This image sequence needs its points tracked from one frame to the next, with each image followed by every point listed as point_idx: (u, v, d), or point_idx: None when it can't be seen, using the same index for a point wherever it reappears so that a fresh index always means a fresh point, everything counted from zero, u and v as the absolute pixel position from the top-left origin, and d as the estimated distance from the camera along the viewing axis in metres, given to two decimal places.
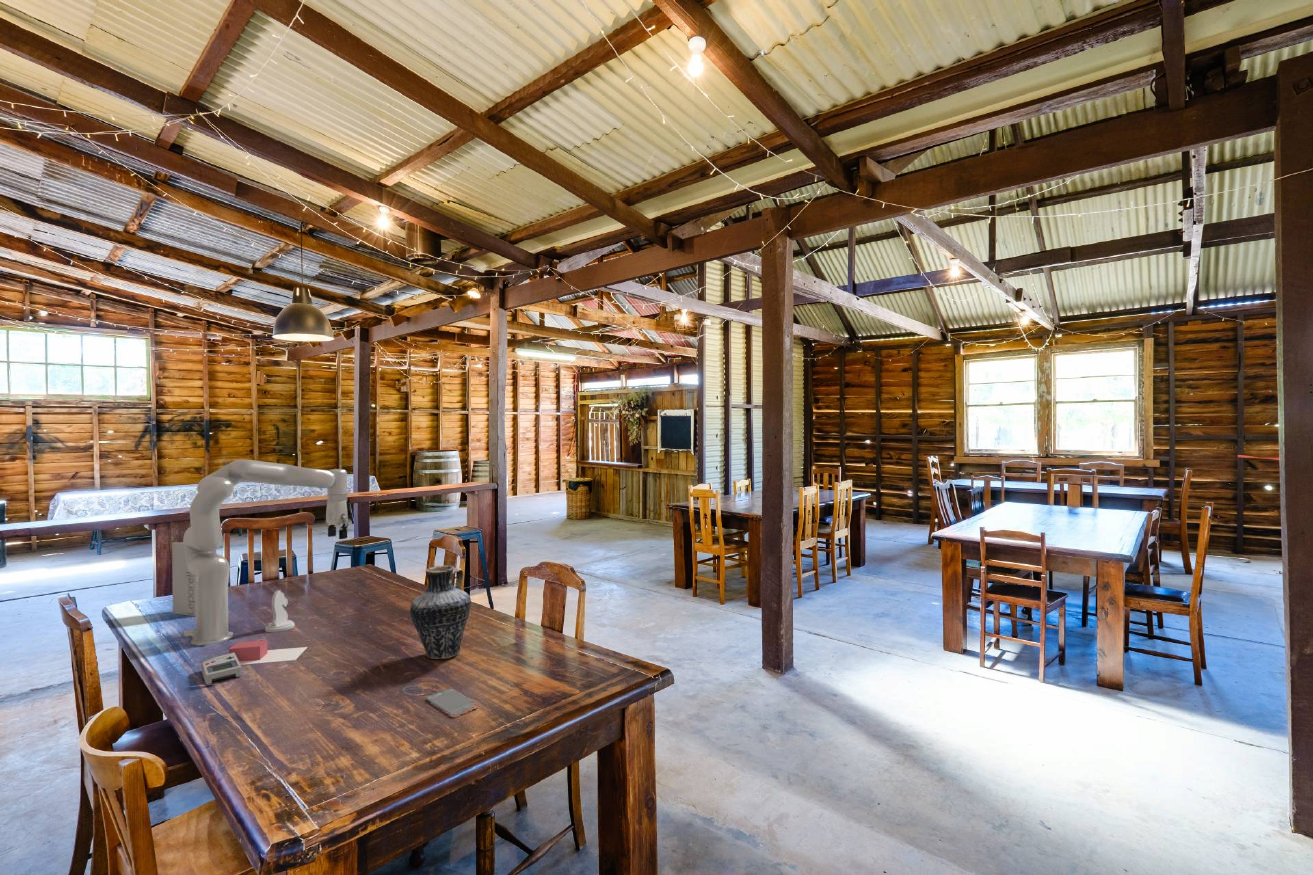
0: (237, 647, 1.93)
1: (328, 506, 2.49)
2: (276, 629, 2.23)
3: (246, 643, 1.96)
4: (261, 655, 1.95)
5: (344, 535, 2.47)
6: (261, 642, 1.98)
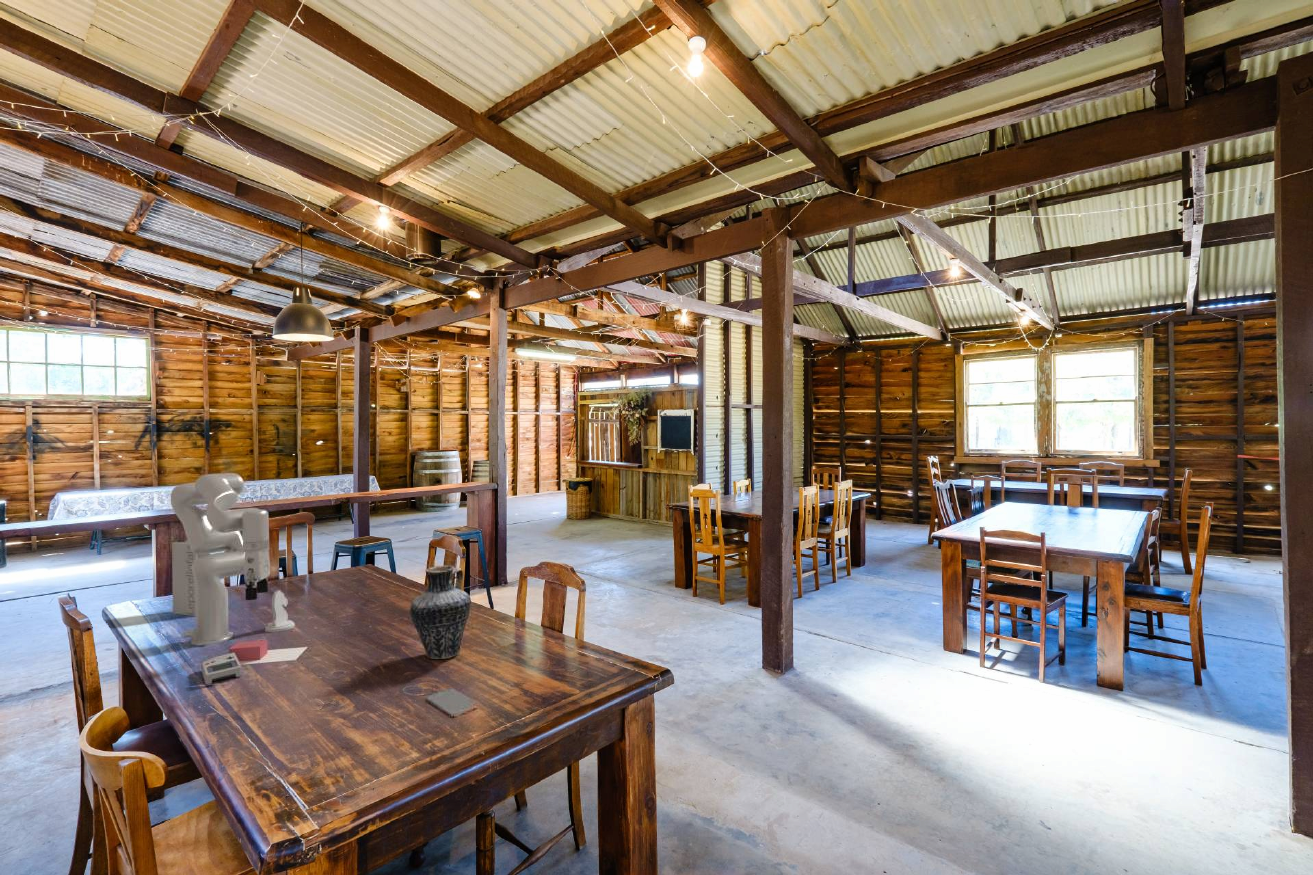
0: (237, 647, 1.93)
1: (262, 557, 1.97)
2: (276, 629, 2.23)
3: (246, 643, 1.96)
4: (261, 655, 1.95)
5: None
6: (261, 642, 1.98)
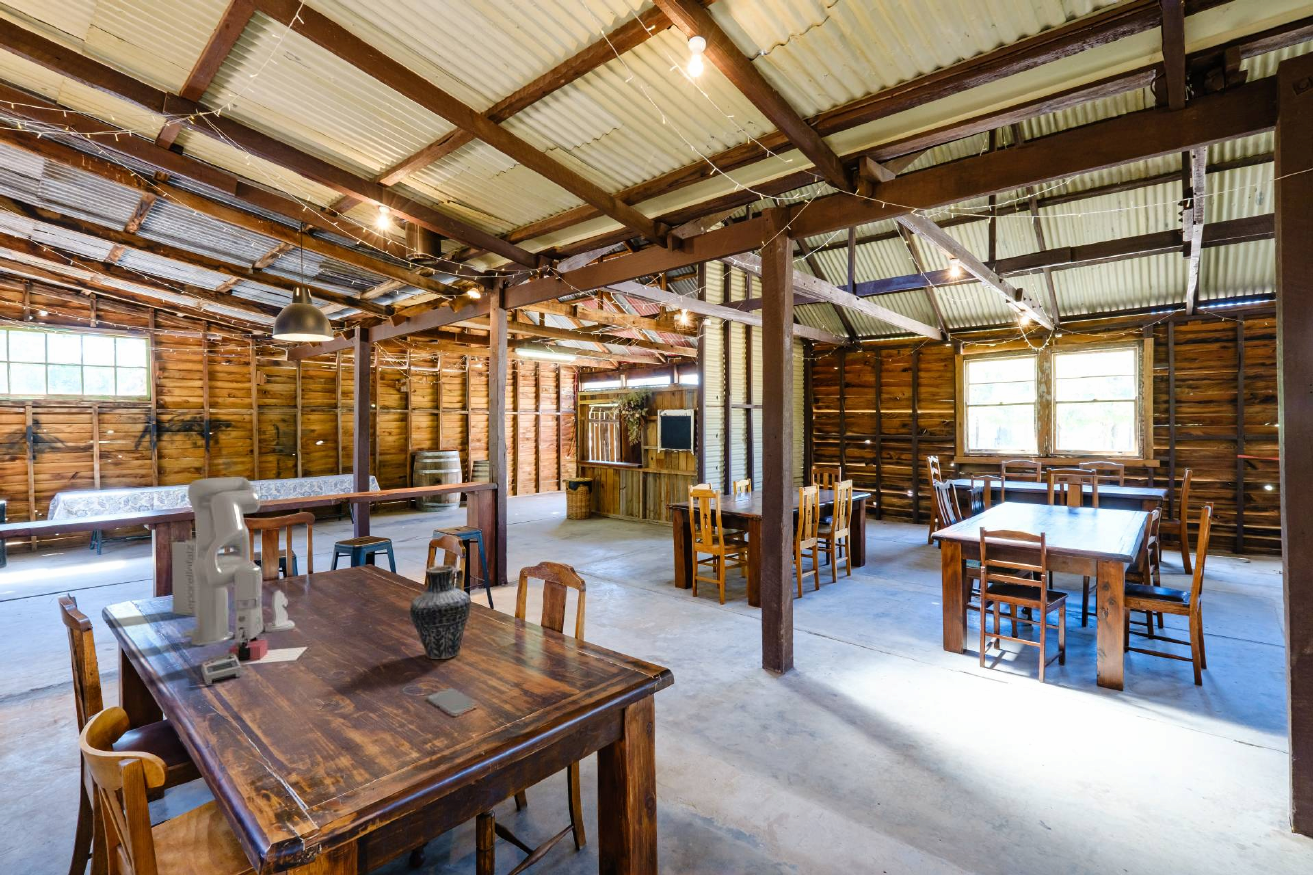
0: (237, 647, 1.93)
1: (254, 614, 1.94)
2: (276, 629, 2.23)
3: None
4: (261, 655, 1.95)
5: None
6: (261, 642, 1.98)
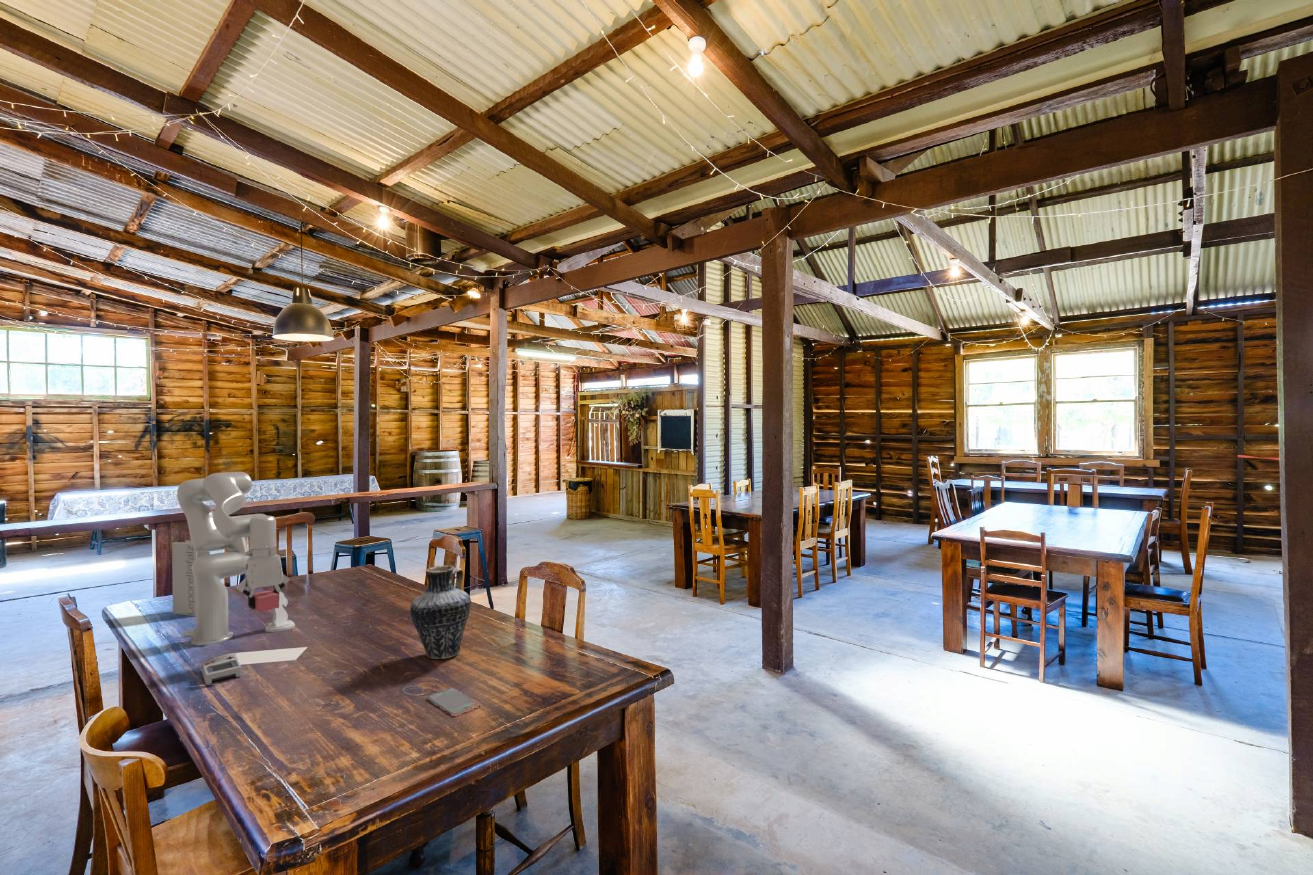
0: None
1: (259, 565, 1.93)
2: (276, 629, 2.23)
3: (264, 593, 1.98)
4: (262, 608, 1.92)
5: None
6: (271, 595, 1.95)
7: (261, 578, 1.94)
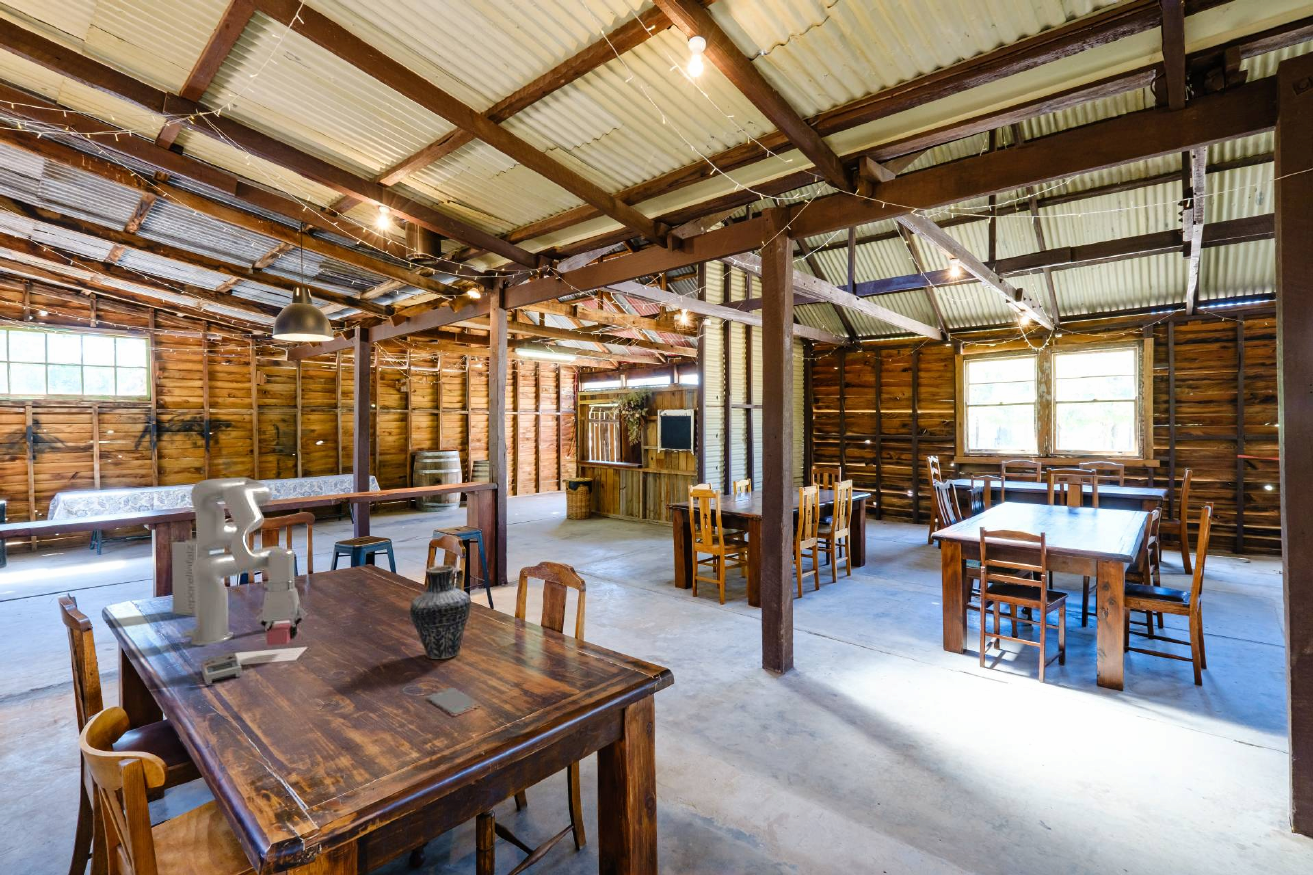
0: (276, 625, 2.00)
1: (271, 598, 1.95)
2: None
3: (284, 626, 1.99)
4: (270, 642, 1.93)
5: (296, 633, 1.99)
6: (281, 629, 1.95)
7: (273, 612, 1.95)
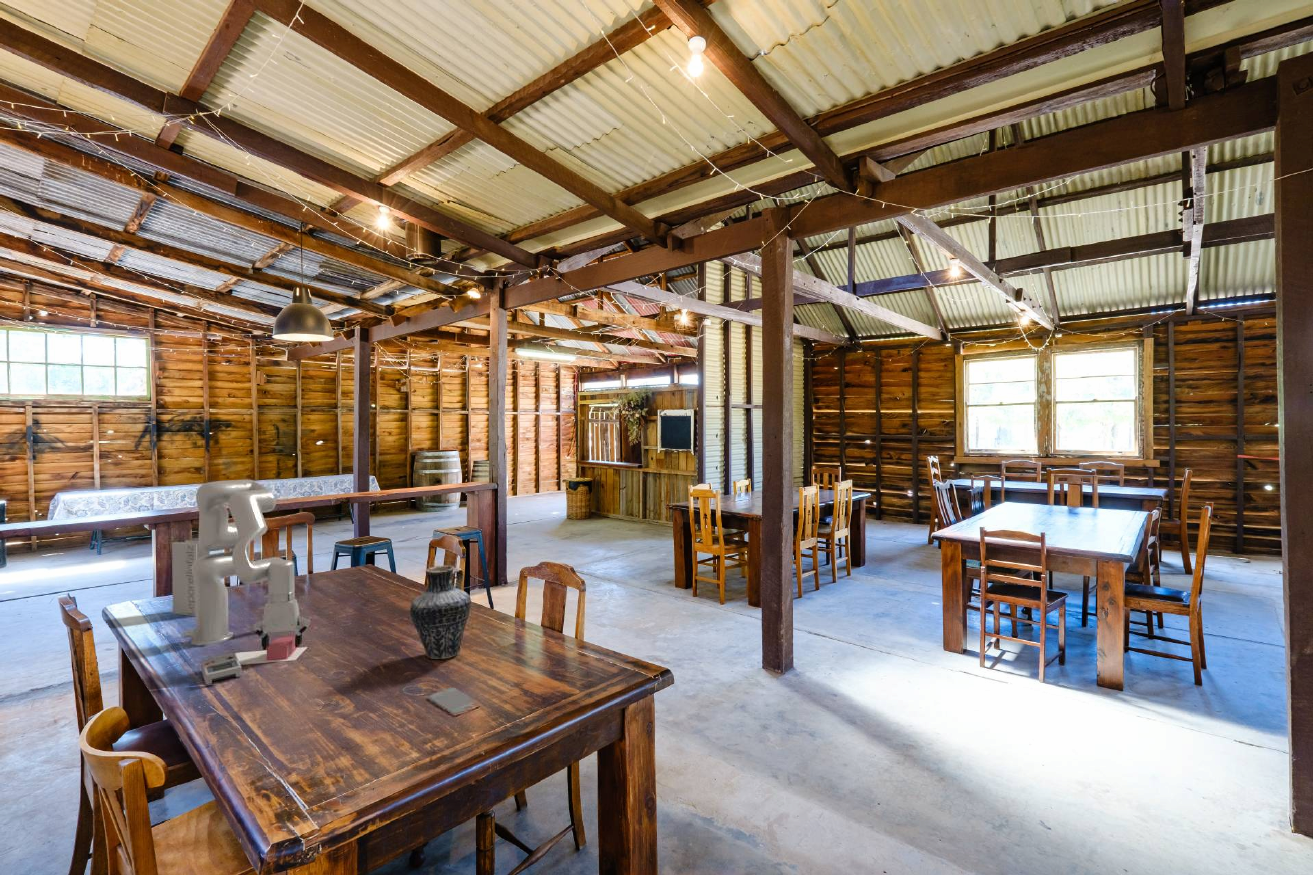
0: (276, 639, 2.00)
1: (271, 610, 1.95)
2: None
3: (284, 640, 1.99)
4: (270, 657, 1.93)
5: (301, 641, 2.00)
6: (281, 644, 1.95)
7: (273, 623, 1.95)
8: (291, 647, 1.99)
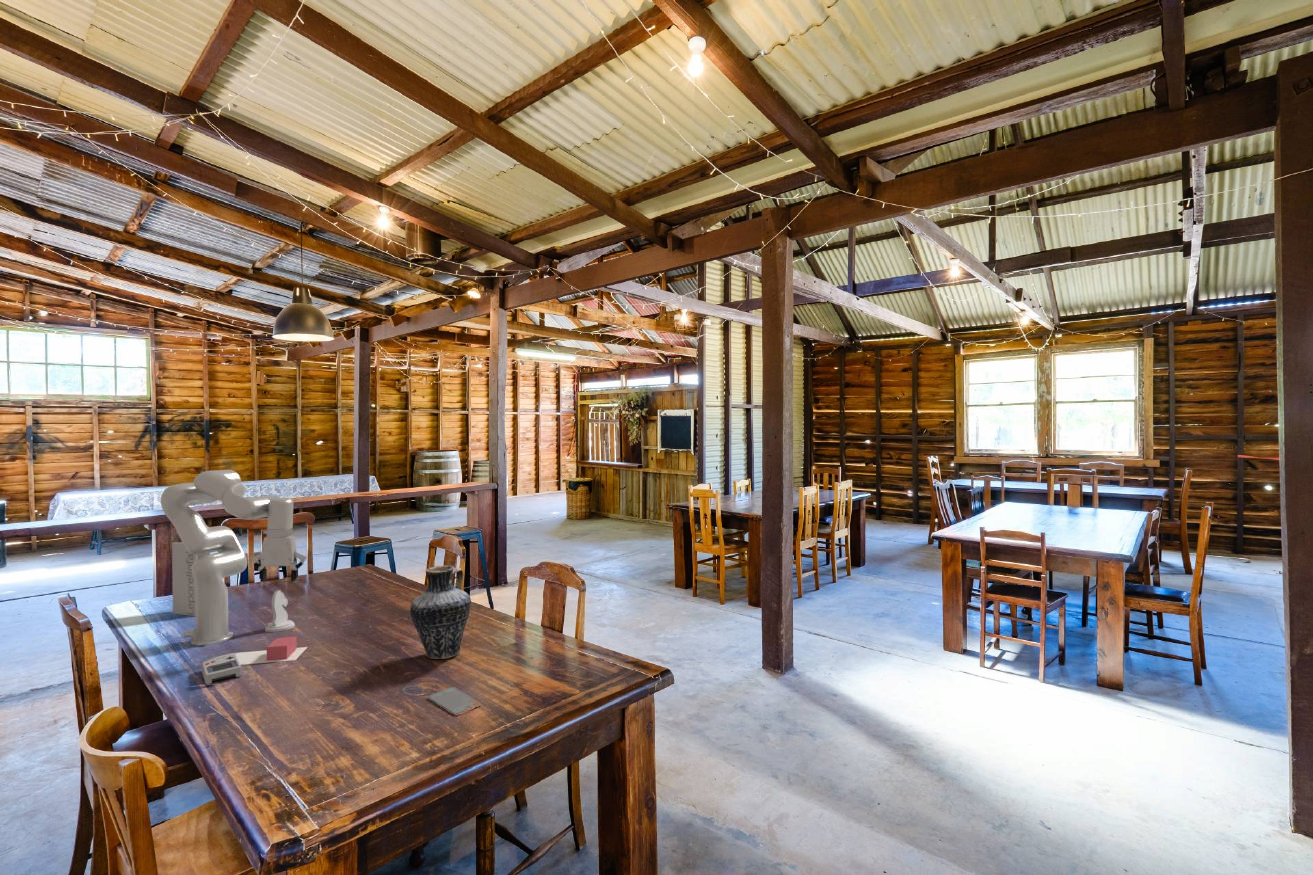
0: (276, 639, 2.00)
1: (269, 544, 2.03)
2: (276, 629, 2.23)
3: (284, 640, 1.99)
4: (270, 657, 1.93)
5: (296, 576, 2.08)
6: (281, 644, 1.95)
7: (271, 557, 2.04)
8: (291, 647, 1.99)
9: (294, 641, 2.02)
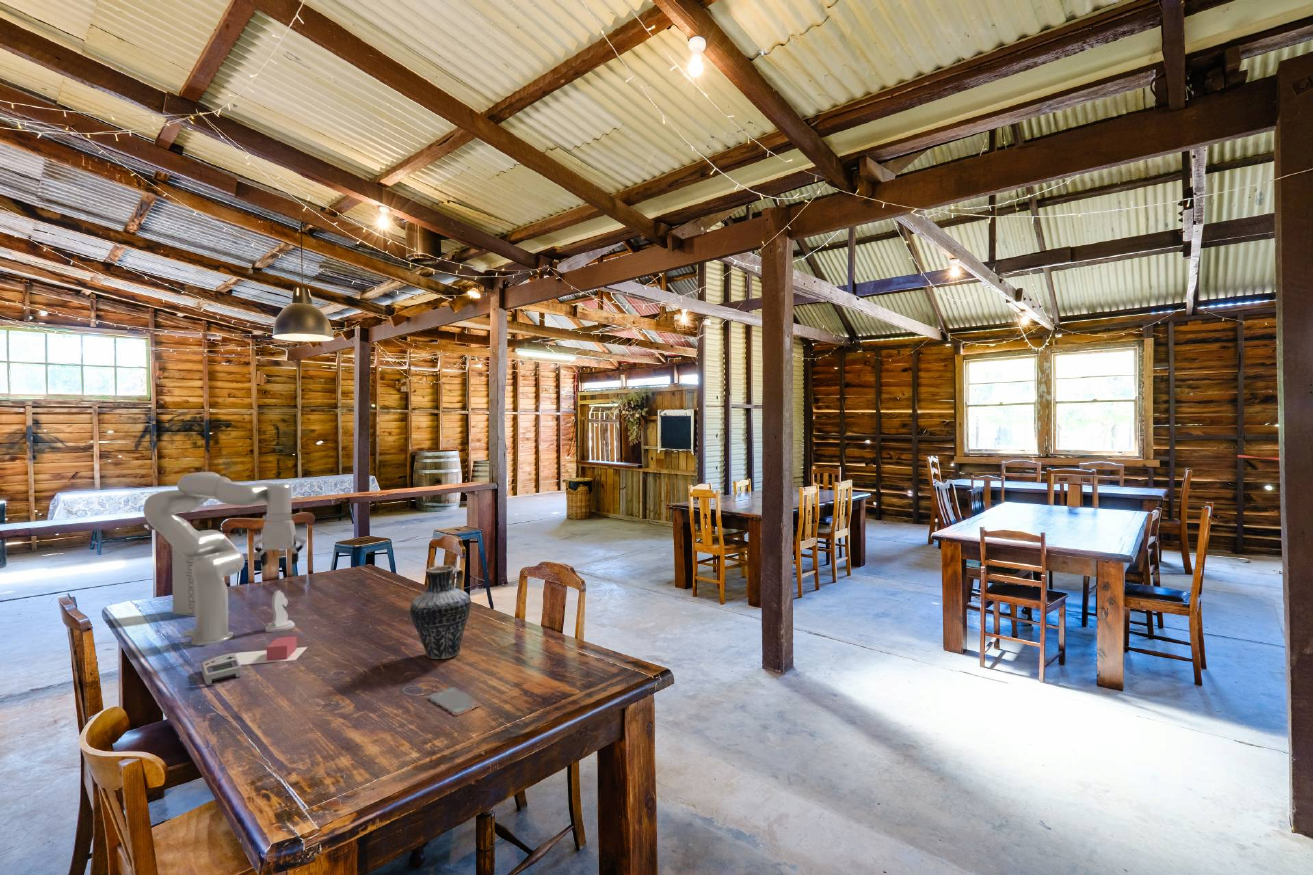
0: (276, 639, 2.00)
1: (270, 528, 2.09)
2: (276, 629, 2.23)
3: (284, 640, 1.99)
4: (270, 657, 1.93)
5: (297, 559, 2.14)
6: (281, 644, 1.95)
7: (271, 541, 2.09)
8: (291, 647, 1.99)
9: (294, 641, 2.02)
